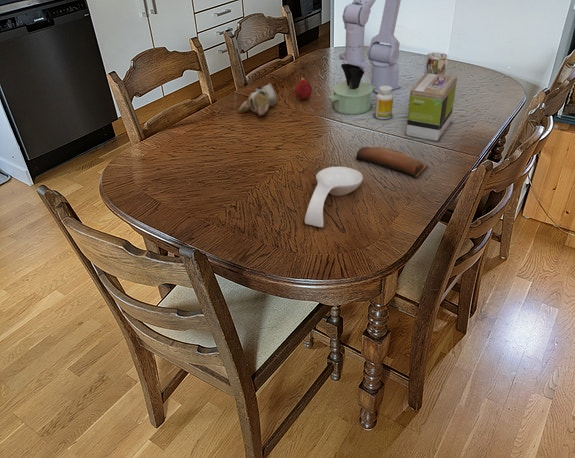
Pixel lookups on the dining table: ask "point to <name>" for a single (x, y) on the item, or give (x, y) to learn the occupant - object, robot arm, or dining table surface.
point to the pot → (351, 103)
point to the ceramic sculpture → (259, 100)
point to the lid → (349, 91)
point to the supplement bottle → (384, 102)
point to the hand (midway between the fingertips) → (352, 86)
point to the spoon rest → (330, 190)
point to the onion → (303, 89)
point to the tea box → (431, 106)
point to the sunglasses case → (391, 159)
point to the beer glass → (436, 63)
